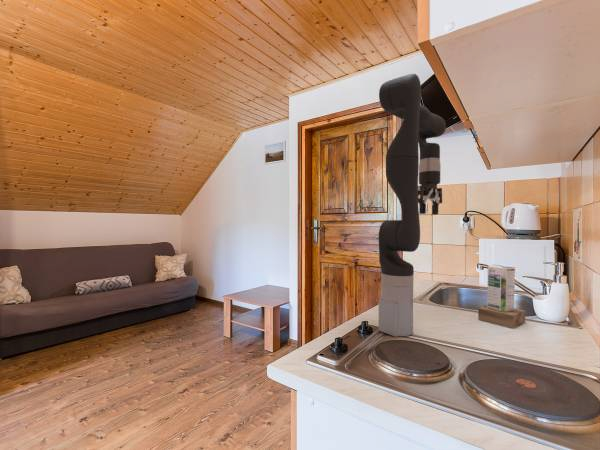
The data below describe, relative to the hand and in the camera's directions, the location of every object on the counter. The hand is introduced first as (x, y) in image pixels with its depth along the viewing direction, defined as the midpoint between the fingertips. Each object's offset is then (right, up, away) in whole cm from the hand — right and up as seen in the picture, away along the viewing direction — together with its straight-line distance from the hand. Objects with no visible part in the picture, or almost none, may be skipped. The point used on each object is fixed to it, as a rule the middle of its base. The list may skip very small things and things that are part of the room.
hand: (429, 214), depth 111 cm
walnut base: (+18, -36, -14) cm, 43 cm away
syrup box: (+18, -33, -14) cm, 40 cm away
